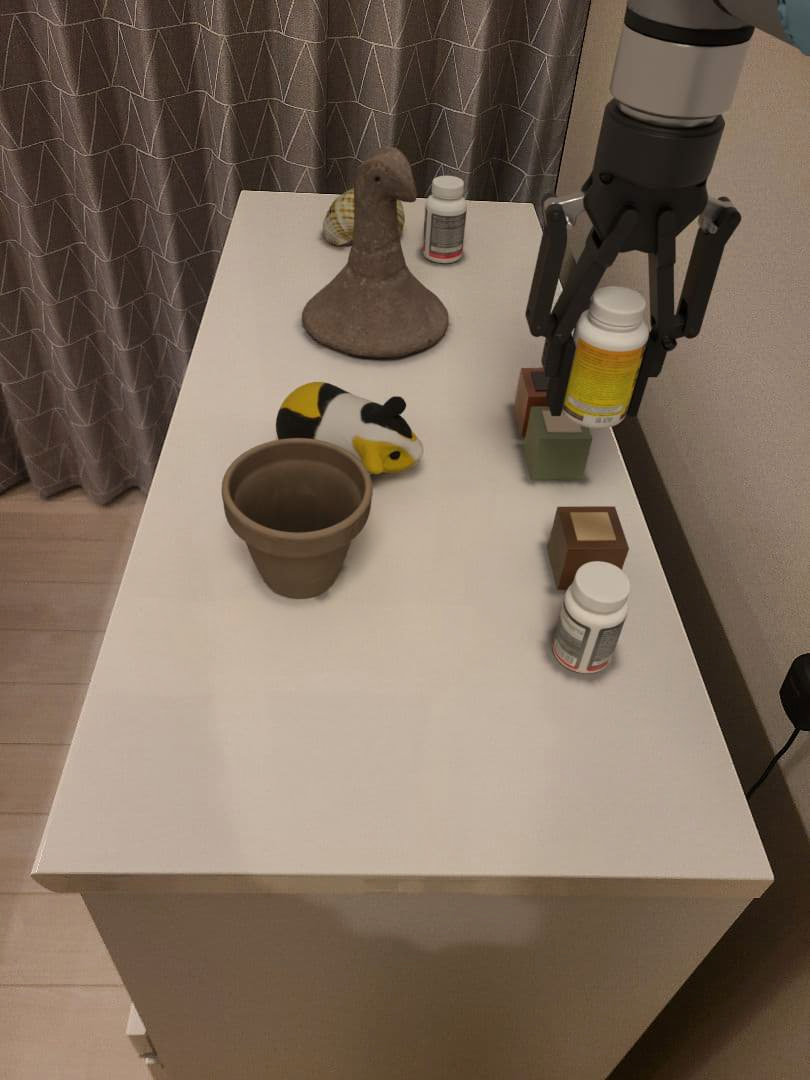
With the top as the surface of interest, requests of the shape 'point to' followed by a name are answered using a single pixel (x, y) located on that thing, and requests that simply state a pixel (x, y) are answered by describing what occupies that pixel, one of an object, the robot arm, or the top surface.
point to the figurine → (351, 426)
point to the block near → (585, 540)
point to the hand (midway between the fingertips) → (590, 405)
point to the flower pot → (297, 510)
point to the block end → (530, 395)
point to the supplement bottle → (606, 358)
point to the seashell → (347, 219)
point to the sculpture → (377, 275)
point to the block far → (555, 446)
